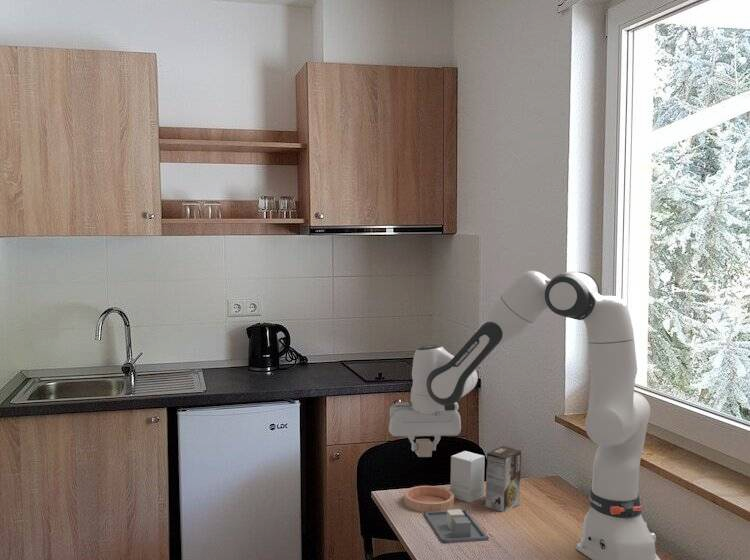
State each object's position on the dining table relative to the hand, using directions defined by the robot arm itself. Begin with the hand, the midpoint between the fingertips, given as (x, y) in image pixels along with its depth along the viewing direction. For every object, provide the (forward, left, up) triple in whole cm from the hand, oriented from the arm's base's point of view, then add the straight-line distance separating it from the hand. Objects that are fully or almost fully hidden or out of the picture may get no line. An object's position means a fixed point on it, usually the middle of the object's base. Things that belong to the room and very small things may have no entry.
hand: (423, 450), depth 221 cm
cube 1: (0, 0, -1) cm, 1 cm away
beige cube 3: (-16, -5, -16) cm, 23 cm away
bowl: (+1, -2, -17) cm, 17 cm away
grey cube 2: (-21, -5, -16) cm, 27 cm away
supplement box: (+5, -15, -17) cm, 23 cm away
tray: (-16, -5, -17) cm, 23 cm away
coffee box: (-3, -23, -17) cm, 29 cm away
